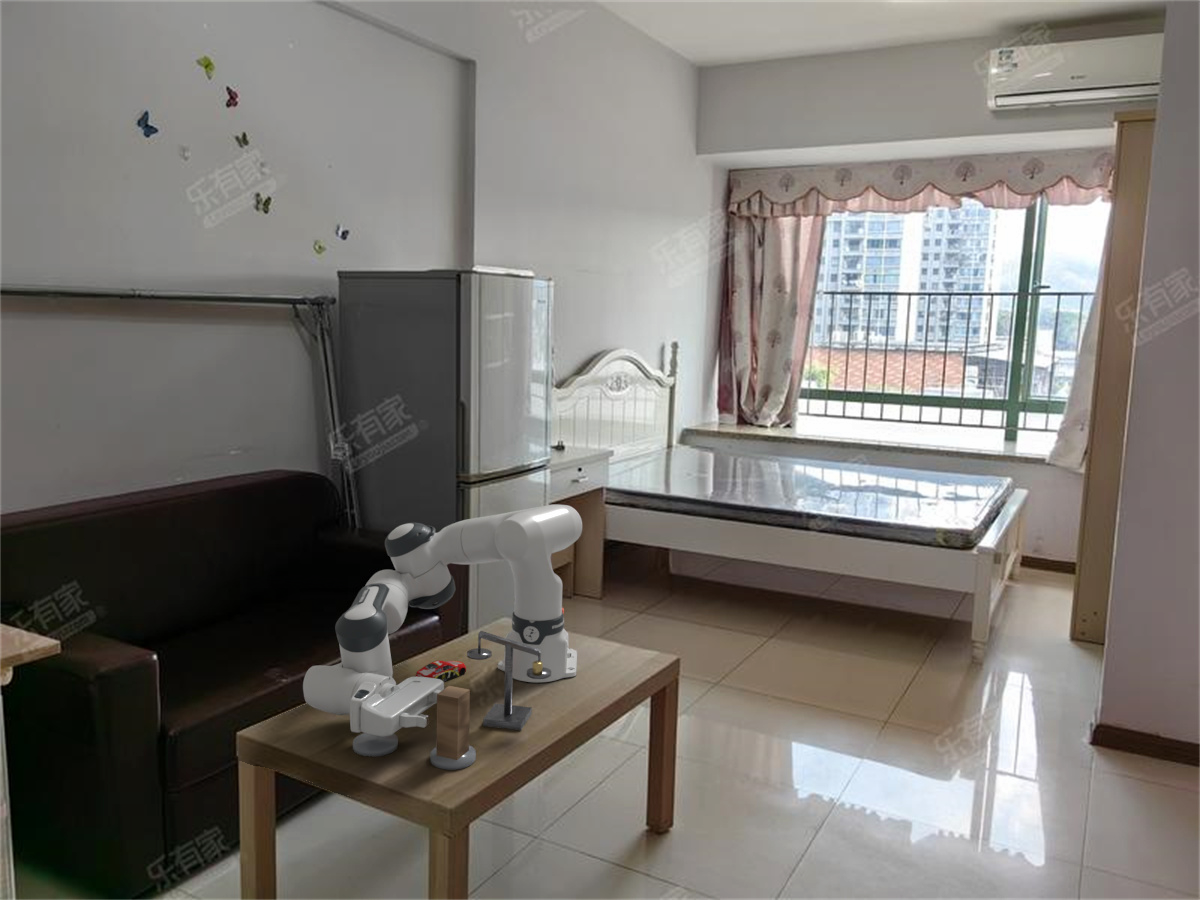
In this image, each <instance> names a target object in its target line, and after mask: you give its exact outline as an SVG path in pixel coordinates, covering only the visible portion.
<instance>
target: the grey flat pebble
mask: <svg viewBox="0 0 1200 900" xmlns="http://www.w3.org/2000/svg"><path fill="white" fill-rule="evenodd" d="M476 751H477V750H476V749H475V748H474V747H473V746H472V745H470V744H469V751H467V752H466V753H465V754H464V755H463V756H462V757H461V758H459V759H458V760H454V759H450V758H445V757H441V756H437V746H436V747H434V748H433V749H432V750H431V751H430V754H429V755H430V759H429V760H430V763H431V765H432V766H434V767H435V768H437V769H440V770H445V771H446V770H447V771H455V770H462V769H465V768H468V767H470V766H471V765H473V764H475V762H476V758H477V757H476V755H477V752H476Z"/></svg>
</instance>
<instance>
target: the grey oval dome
mask: <svg viewBox="0 0 1200 900" xmlns="http://www.w3.org/2000/svg"><path fill="white" fill-rule="evenodd" d="M398 742H399V738H398V736H397V735H396V734H395V733H393V734H392V735H389V736H376V735H371V734H366V733H363V732H362V733H360V734H359V735H357V736H356V737H354V738H353V740H352V751H353V750H354V751H353V753H355V754H356V753H357V755H358V754H360V755H359V756H361V755H363V757H366V756H369V758H373V757H375V758H376V757H382V756H387V755H389V754H391V753H393V752H395V751H396V750H397V749H398V746H399V743H398ZM370 756H372V757H370Z"/></svg>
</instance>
